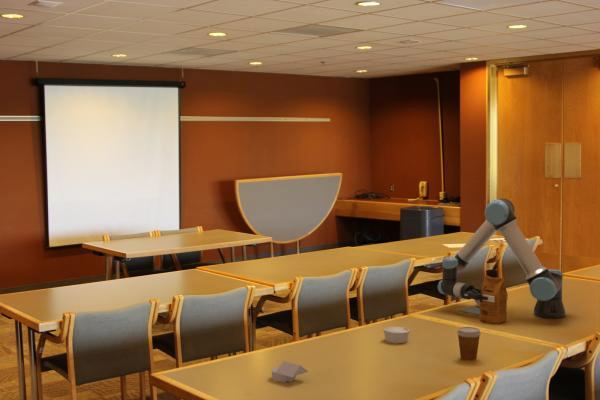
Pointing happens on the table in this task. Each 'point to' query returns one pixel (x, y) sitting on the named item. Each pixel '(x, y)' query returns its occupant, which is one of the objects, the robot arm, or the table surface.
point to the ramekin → (396, 334)
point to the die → (477, 302)
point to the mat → (471, 310)
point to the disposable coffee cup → (468, 342)
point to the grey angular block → (287, 372)
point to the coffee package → (497, 309)
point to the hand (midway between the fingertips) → (500, 298)
